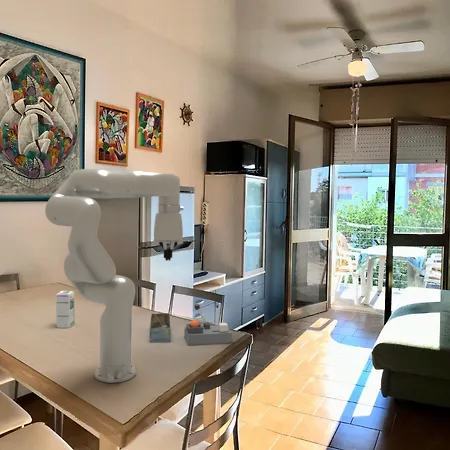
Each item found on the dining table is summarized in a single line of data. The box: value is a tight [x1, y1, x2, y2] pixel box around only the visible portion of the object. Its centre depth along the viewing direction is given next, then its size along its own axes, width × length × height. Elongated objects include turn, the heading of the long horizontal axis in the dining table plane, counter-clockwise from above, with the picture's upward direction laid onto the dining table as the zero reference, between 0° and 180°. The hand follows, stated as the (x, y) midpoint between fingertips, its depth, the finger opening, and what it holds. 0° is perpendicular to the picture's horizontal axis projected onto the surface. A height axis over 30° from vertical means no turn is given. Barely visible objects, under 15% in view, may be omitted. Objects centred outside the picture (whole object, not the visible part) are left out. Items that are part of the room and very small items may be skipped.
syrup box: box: [55, 290, 75, 329], centre depth 182 cm, size 6×6×14 cm
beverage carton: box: [149, 312, 171, 343], centre depth 176 cm, size 8×19×7 cm, turn 8°
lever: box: [193, 303, 208, 324], centre depth 172 cm, size 2×2×10 cm
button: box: [190, 319, 200, 328], centre depth 168 cm, size 3×3×3 cm
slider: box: [217, 322, 229, 332], centre depth 169 cm, size 3×3×2 cm
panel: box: [183, 321, 233, 346], centre depth 171 cm, size 10×17×6 cm, turn 104°
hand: (167, 259), depth 157 cm, fingers closed
